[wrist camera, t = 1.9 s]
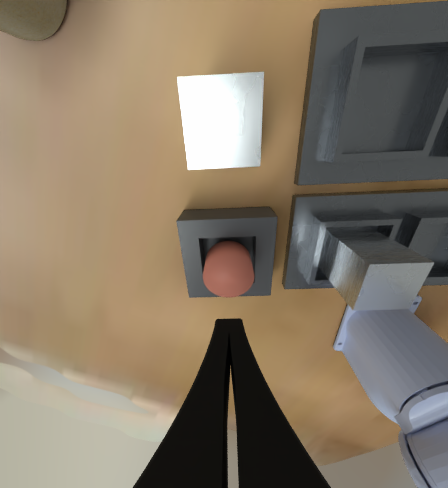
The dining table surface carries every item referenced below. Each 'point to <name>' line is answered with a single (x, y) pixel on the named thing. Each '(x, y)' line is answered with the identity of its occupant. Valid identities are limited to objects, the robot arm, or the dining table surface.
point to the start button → (228, 269)
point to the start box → (228, 229)
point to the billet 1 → (222, 119)
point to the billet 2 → (372, 269)
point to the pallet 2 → (366, 215)
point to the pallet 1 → (376, 96)
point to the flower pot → (31, 18)
